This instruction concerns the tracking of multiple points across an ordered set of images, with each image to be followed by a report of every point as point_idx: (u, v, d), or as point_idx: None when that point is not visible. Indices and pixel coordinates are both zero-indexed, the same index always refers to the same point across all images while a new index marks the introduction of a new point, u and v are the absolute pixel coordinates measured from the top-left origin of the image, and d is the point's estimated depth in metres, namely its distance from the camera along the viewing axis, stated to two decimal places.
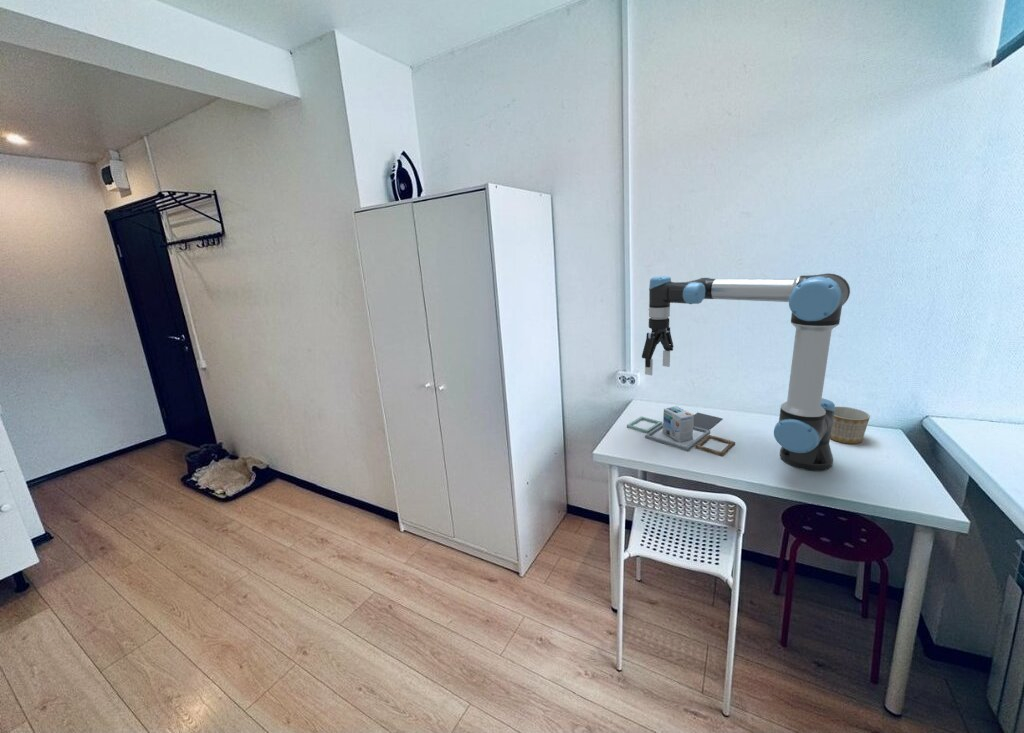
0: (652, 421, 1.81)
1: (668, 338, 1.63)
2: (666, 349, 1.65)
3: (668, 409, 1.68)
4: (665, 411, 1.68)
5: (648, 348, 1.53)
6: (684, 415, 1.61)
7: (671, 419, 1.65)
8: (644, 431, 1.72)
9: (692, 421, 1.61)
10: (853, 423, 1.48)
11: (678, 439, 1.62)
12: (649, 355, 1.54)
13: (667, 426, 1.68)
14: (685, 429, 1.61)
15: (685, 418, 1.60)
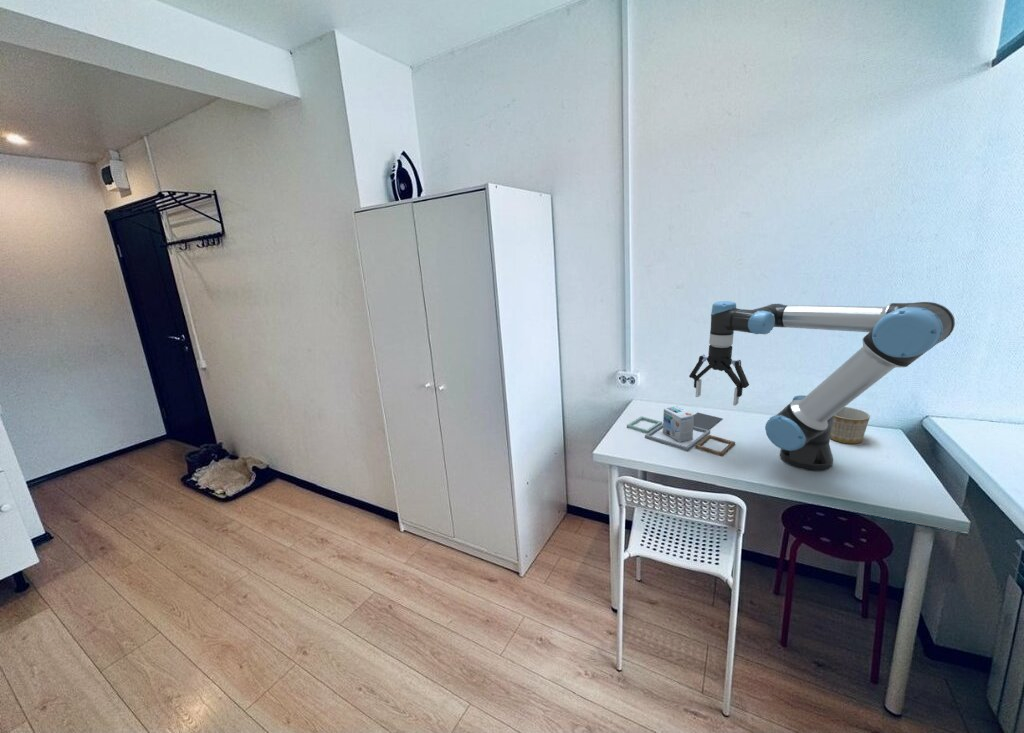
0: (652, 421, 1.81)
1: None
2: None
3: (668, 409, 1.68)
4: (665, 411, 1.68)
5: None
6: (684, 415, 1.61)
7: (671, 419, 1.65)
8: (644, 431, 1.72)
9: (692, 421, 1.61)
10: (853, 423, 1.48)
11: (678, 439, 1.62)
12: (693, 375, 1.55)
13: (667, 426, 1.68)
14: (685, 429, 1.61)
15: (685, 418, 1.60)
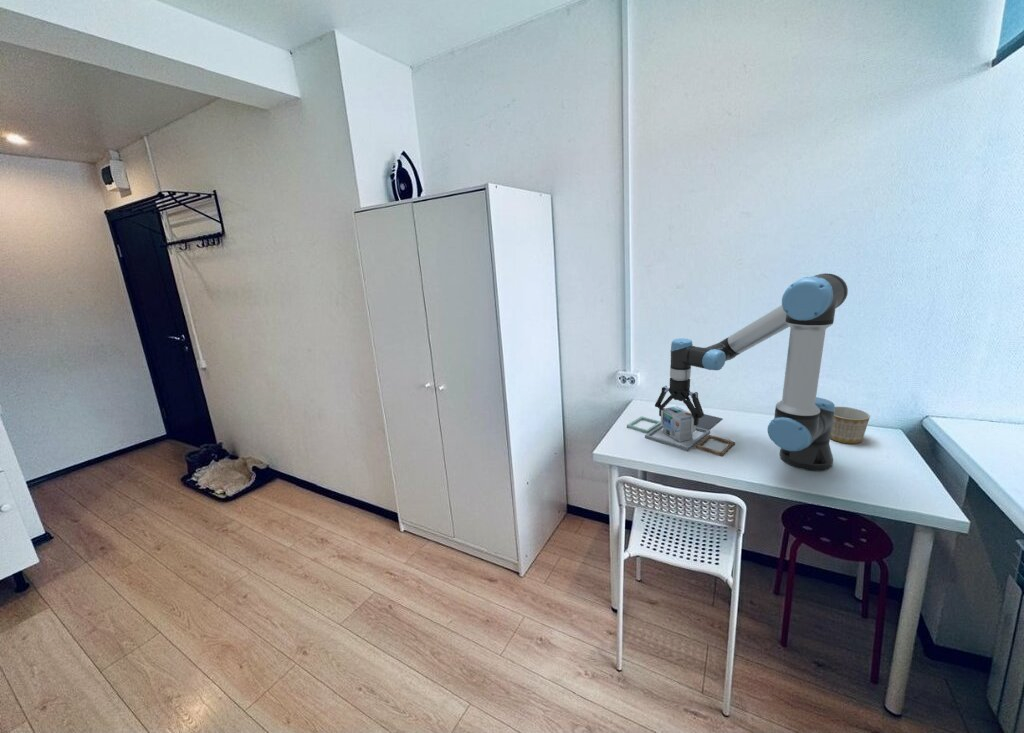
0: (652, 421, 1.81)
1: None
2: None
3: (668, 409, 1.68)
4: (665, 411, 1.68)
5: None
6: (684, 415, 1.61)
7: (671, 419, 1.65)
8: (644, 431, 1.72)
9: None
10: (853, 423, 1.48)
11: (678, 439, 1.62)
12: (658, 405, 1.70)
13: (667, 426, 1.68)
14: (685, 429, 1.61)
15: (685, 418, 1.60)
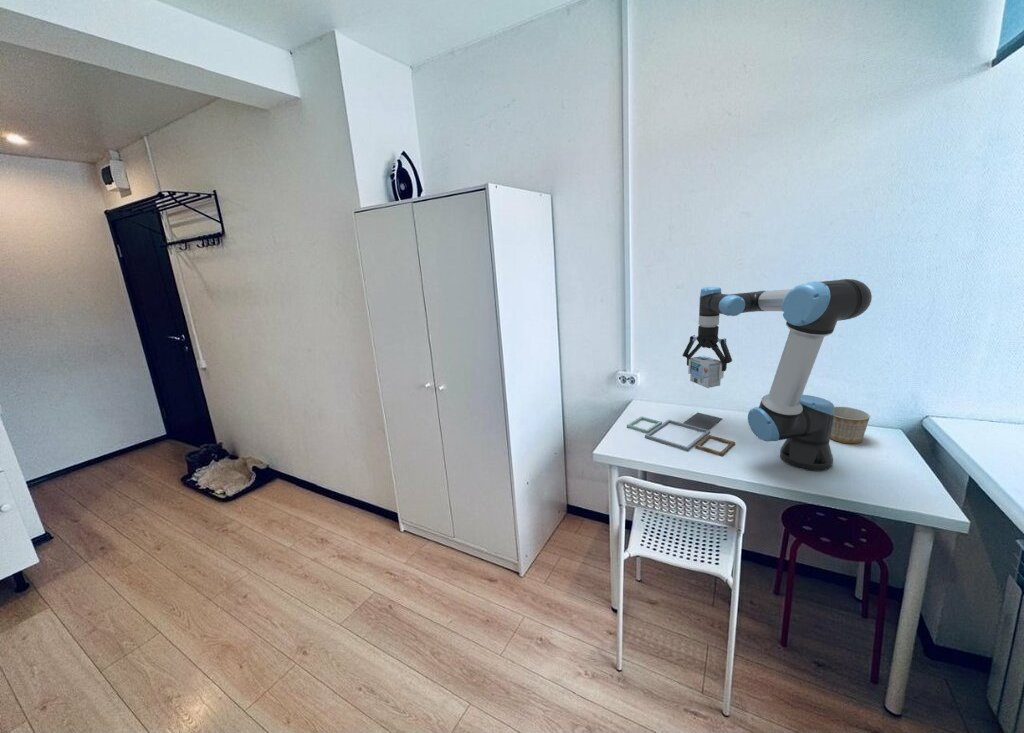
0: (652, 421, 1.81)
1: None
2: None
3: (696, 358, 1.73)
4: (693, 360, 1.73)
5: None
6: (712, 361, 1.67)
7: (699, 367, 1.71)
8: (644, 431, 1.72)
9: None
10: (853, 423, 1.48)
11: (706, 385, 1.68)
12: (685, 354, 1.75)
13: (695, 374, 1.73)
14: (714, 375, 1.67)
15: (713, 364, 1.66)
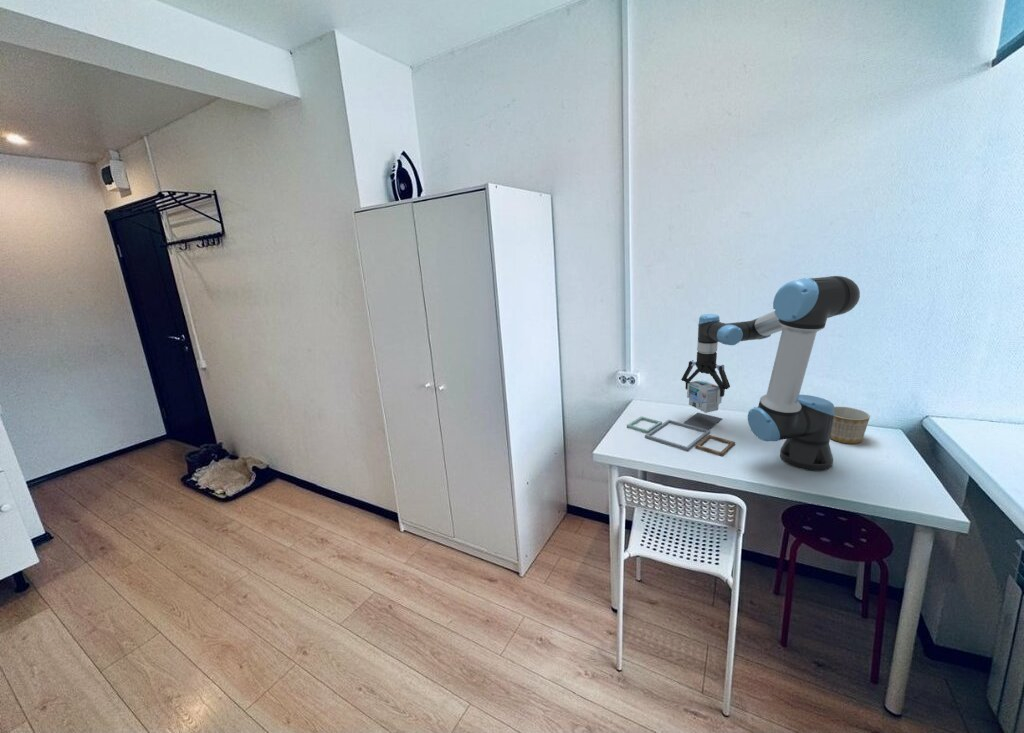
0: (652, 421, 1.81)
1: None
2: None
3: (694, 382, 1.76)
4: (691, 384, 1.77)
5: None
6: (711, 387, 1.70)
7: (697, 392, 1.74)
8: (644, 431, 1.72)
9: None
10: (853, 423, 1.48)
11: (705, 410, 1.71)
12: (684, 378, 1.78)
13: (694, 399, 1.76)
14: (712, 400, 1.70)
15: (712, 390, 1.69)
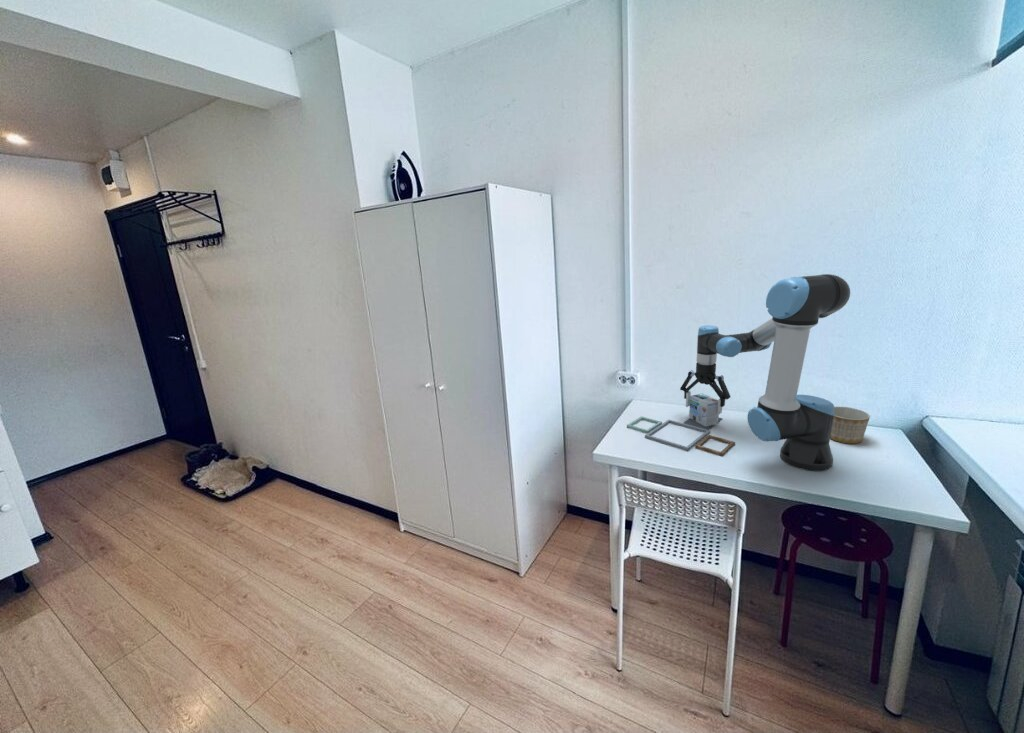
0: (652, 421, 1.81)
1: None
2: None
3: (694, 396, 1.78)
4: (692, 398, 1.78)
5: None
6: (711, 401, 1.71)
7: (697, 405, 1.75)
8: (644, 431, 1.72)
9: None
10: (853, 423, 1.48)
11: (705, 424, 1.73)
12: (683, 388, 1.80)
13: (694, 412, 1.78)
14: (712, 414, 1.72)
15: (712, 404, 1.70)
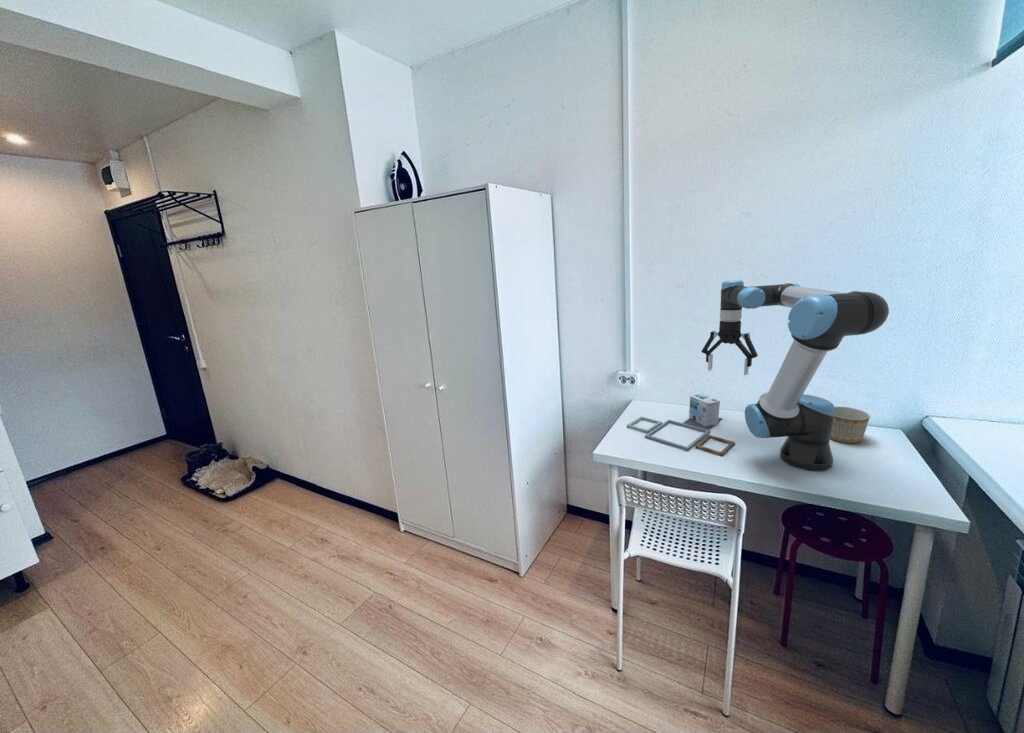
0: (652, 421, 1.81)
1: None
2: None
3: (694, 396, 1.78)
4: (692, 398, 1.78)
5: None
6: (710, 401, 1.71)
7: (697, 405, 1.75)
8: (644, 431, 1.72)
9: (718, 407, 1.72)
10: (853, 423, 1.48)
11: (705, 424, 1.73)
12: (705, 350, 1.69)
13: (694, 412, 1.78)
14: (712, 414, 1.72)
15: (712, 404, 1.70)
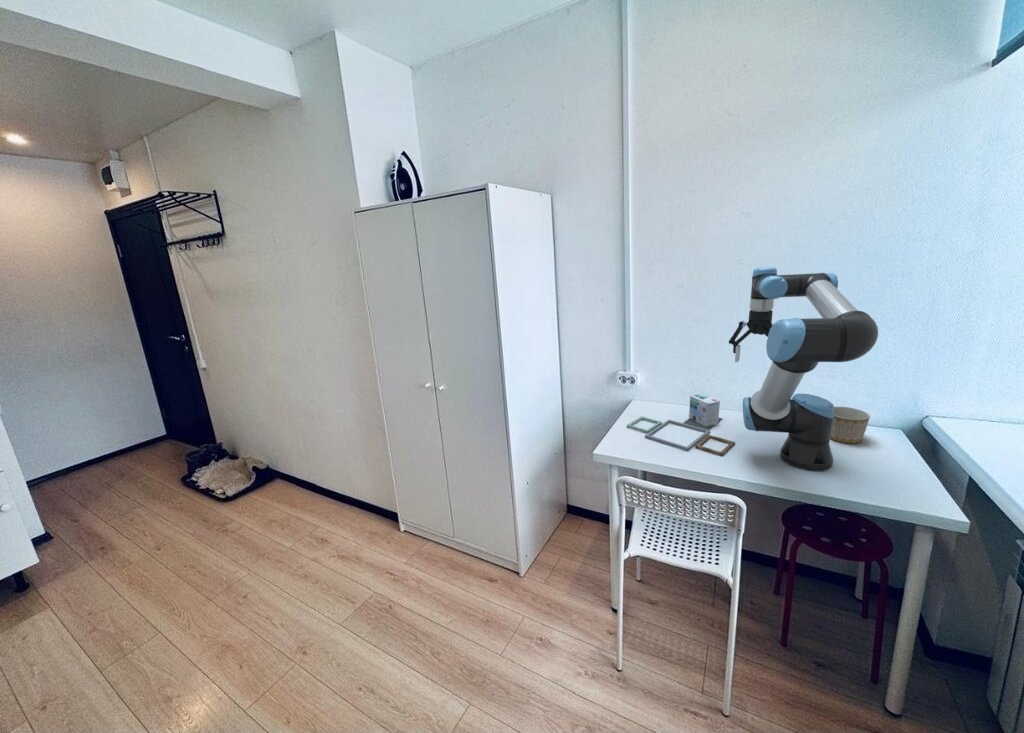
0: (652, 421, 1.81)
1: None
2: None
3: (694, 396, 1.78)
4: (692, 398, 1.78)
5: None
6: (710, 401, 1.71)
7: (697, 405, 1.75)
8: (644, 431, 1.72)
9: (718, 407, 1.72)
10: (853, 423, 1.48)
11: (705, 424, 1.73)
12: (732, 341, 1.62)
13: (694, 412, 1.78)
14: (712, 414, 1.72)
15: (712, 404, 1.70)
